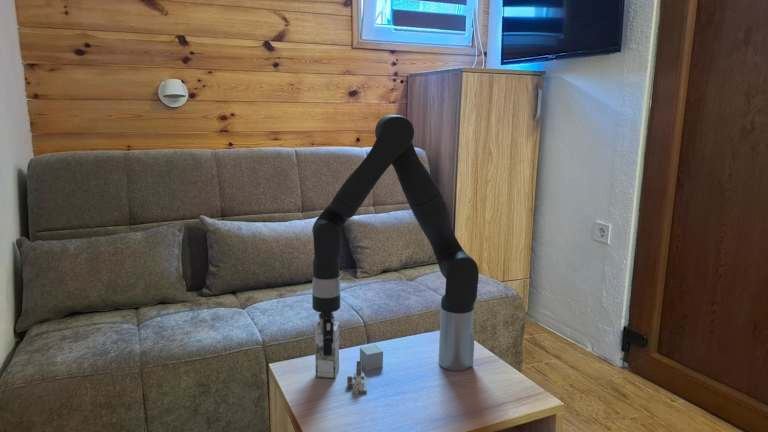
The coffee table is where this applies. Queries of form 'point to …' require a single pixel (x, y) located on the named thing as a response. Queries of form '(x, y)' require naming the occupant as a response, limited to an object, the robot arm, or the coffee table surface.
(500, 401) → the coffee table surface
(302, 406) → the coffee table surface
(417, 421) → the coffee table surface
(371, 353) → the grey block
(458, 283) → the robot arm
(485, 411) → the coffee table surface
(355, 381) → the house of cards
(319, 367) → the syrup box
